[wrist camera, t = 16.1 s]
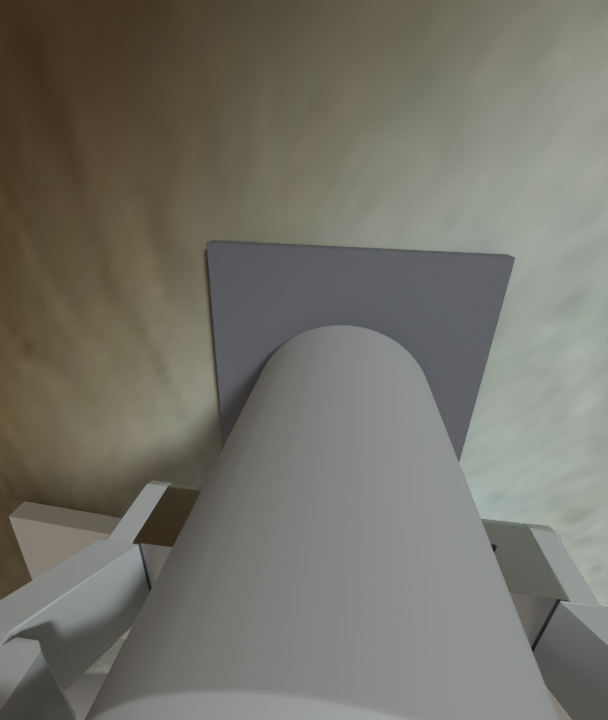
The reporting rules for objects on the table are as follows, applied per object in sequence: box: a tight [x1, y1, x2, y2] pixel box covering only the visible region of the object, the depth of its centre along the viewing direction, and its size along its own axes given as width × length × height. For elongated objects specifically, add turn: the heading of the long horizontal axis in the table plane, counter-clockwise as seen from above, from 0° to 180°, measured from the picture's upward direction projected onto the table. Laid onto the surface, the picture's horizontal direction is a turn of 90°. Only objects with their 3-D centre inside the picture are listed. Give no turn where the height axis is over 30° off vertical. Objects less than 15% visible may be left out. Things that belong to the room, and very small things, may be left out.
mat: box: [207, 241, 515, 462], centre depth 14 cm, size 10×10×1 cm
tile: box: [9, 501, 132, 640], centre depth 22 cm, size 2×8×10 cm
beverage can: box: [85, 325, 559, 720], centre depth 9 cm, size 6×6×12 cm
